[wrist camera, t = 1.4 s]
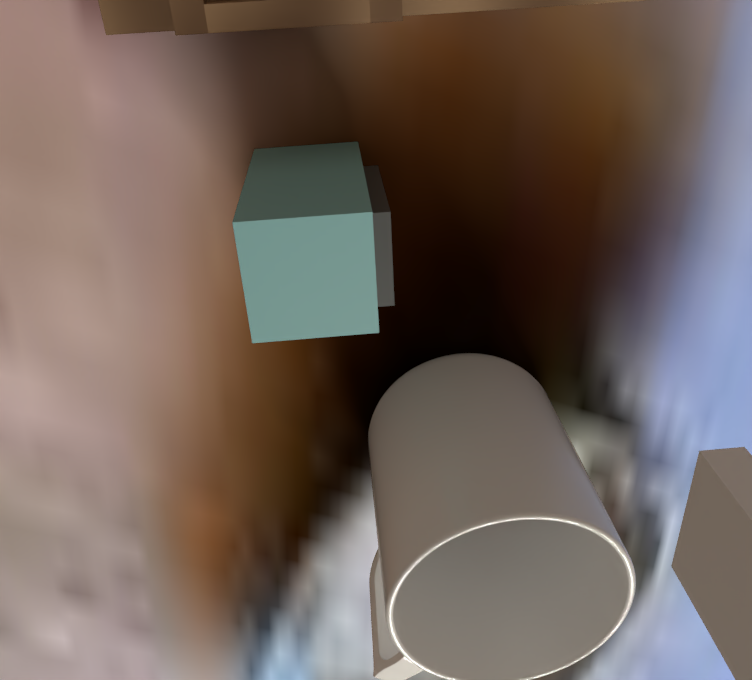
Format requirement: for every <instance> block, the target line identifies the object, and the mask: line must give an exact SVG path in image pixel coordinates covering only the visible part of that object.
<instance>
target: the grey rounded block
mask: <svg viewBox="0 0 752 680" xmlns="http://www.w3.org/2000/svg"><path fill="white" fill-rule="evenodd" d="M368 449H369V459H370V469H371V479H372V489H373V499H374V508H375V518H376V528H377V538H378V550H377V552H376V555H375V557H374V560H373V563H372V567H371V572H370V603H371V621H372V640H373V659H374V674H373V676H374V677H376V678H379V679H382V680H406V679H407V678H409V677H411V676H413V675H415V674H417V673H419V672H421V671H422V670H424V671H426V672H428V673H431V674H433V675H435V676H438V677H441V678H444V679H448V680H531V679H535V678H538V677H542V676H545V675H548V674H551V673H554V672H556V671H559V670H561V669H564V668H566V667H568V666H570V665H572V664H574V663H576V662H577V661H579V660H581V659H583V658H584V657H586V656H587V655H589V654H590V653H592V652H593V651H595V650H596V649H597V648H599V647H600V646H601V645H602V644H603V643H604V642H606V641H607V640H608V639H609V638H610V637H611V636H612V635H613V634H614V632H615V631H616V630H617V629H618V628H619V626H620V625H621V624H622V622H623V620H624V619H625V617H626V616H627V614H628V612H629V610H630V607H631V605H632V602H633V598H634V594H635V585H636V579H635V571H634V567H633V564H632V561H631V558H630V556H629V554H628V552H627V550H626V548H625V546H624V544H623V542H622V540H621V538H620V537H619V535H618V533H617V531H616V529H615V527H614V525H613V523H612V521H611V519H610V517H609V515H608V513H607V511H606V509H605V507H604V505H603V503H602V501H601V499H600V497H599V495H598V493H597V491H596V489H595V487H594V485H593V483H592V481H591V480H590V478H589V476H588V474H587V472H586V470H585V468H584V466H583V464H582V462H581V460H580V458H579V456H578V454H577V452H576V450H575V448H574V446H573V444H572V442H571V440H570V438H569V436H568V434H567V432H566V430H565V428H564V426H563V424H562V423H561V421H560V419H559V417H558V415H557V413H556V411H555V409H554V407H553V405H552V403H551V401H550V399H549V397H548V395H547V394H546V392H545V390H544V389H543V387H542V386H541V385H540V383H539V382H538V381H537V380H536V379H535V378H534V377H533V376H532V375H531V374H529V373H528V372H527V371H526V370H524V369H523V368H521V367H520V366H518V365H516V364H514V363H512V362H510V361H508V360H505V359H503V358H500V357H496V356H492V355H487V354H479V353H459V354H451V355H446V356H442V357H438V358H435V359H432V360H429V361H427V362H424V363H422V364H420V365H418V366H416V367H414V368H413V369H411V370H409V371H408V372H406V373H405V374H404V375H402V376H401V377H400V378H398V379H397V380H396V381H395V382H394V383H393V384H392V385H391V386H390V387H389V388H388V390H387V391H386V392H385V393H384V395H383V396H382V397H381V399H380V401H379V402H378V404H377V406H376V408H375V410H374V412H373V415H372V418H371V421H370V426H369V431H368Z"/></svg>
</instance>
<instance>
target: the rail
mask: <svg viewBox="0 0 752 680" xmlns="http://www.w3.org/2000/svg"><path fill="white" fill-rule="evenodd" d="M628 1H644V0H98V2H99V6H100V11H101V15H102V19H103V24H104V28H105V32H106V35H113V34H129V33H144V32H160V31H175V35H190V34H205V33H221V32H236V31H252V30H267V29H283V28H299V27H314V26H330V25H345V24H361V23H376V22H392V21H403V16H410V15H425V14H441V13H456V12H472V11H488V10H503V9H519V8H535V7H550V6H566V5H581V4H597V3H613V2H628Z"/></svg>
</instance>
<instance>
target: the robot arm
mask: <svg viewBox="0 0 752 680" xmlns="http://www.w3.org/2000/svg"><path fill="white" fill-rule="evenodd" d="M672 568H673V570H674V571H675V573H676V575H677V577H678V579H679V580H680V582H681V584H682V586H683V587H684V589H685V591H686V593H687V595H688V596H689V598H690V600H691V602H692V603H693V605H694V607H695V609H696V610H697V612H698V614H699V616H700V618H701V619H702V621H703V623H704V625H705V626H706V628H707V630H708V632H709V633H710V635H711V637H712V639H713V641H714V642H715V644H716V646H717V648H718V649H719V651H720V653H721V655H722V657H723V658H724V660H725V662H726V664H727V665H728V667H729V669H730V671H731V672H732V674H733V676H734V678H735V680H752V455H751V454H750V453H749V452H748V451H747V449H746V448H745V447H739V448H727V449H716V450H704V451H699V455H698V459H697V463H696V467H695V471H694V475H693V480H692V484H691V488H690V492H689V496H688V500H687V504H686V508H685V513H684V517H683V521H682V525H681V529H680V533H679V537H678V541H677V546H676V550H675V554H674V558H673V562H672Z"/></svg>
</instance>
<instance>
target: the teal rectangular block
mask: <svg viewBox="0 0 752 680" xmlns="http://www.w3.org/2000/svg"><path fill="white" fill-rule="evenodd" d="M232 223H233V229H234V235H235V241H236V247H237V253H238V259H239V265H240V271H241V277H242V283H243V289H244V295H245V301H246V307H247V313H248V319H249V325H250V332H251V338H252V343H261V342H273V341H285V340H297V339H310V338H322V337H334V336H346V335H358V334H371V333H379V319H378V307H383V306H395V304H394V281H393V257H392V234H391V212H390V208H389V204H388V201H387V197H386V193H385V190H384V186H383V182H382V179H381V175H380V171H379V168H378V165H374V166H363V164H362V159H361V154H360V149H359V144H358V142H345V143H331V144H317V145H303V146H288V147H274V148H260V149H254V152H253V155H252V159H251V162H250V165H249V169H248V172H247V175H246V179H245V182H244V185H243V189H242V192H241V195H240V199H239V202H238V205H237V209H236V212H235V216H234V219H233V222H232Z"/></svg>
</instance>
